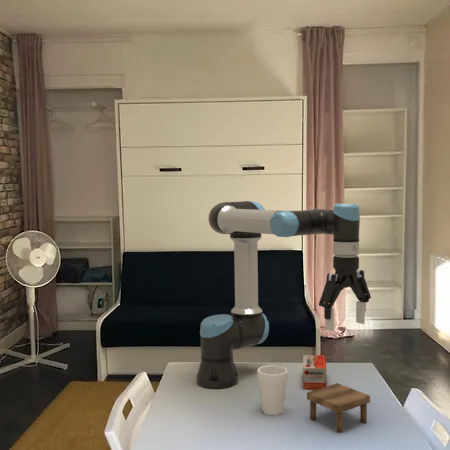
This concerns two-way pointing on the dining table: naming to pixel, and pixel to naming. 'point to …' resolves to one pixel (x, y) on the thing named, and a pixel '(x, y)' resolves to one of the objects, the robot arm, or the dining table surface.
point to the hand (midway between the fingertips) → (345, 326)
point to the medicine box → (314, 372)
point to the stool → (338, 402)
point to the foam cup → (272, 388)
